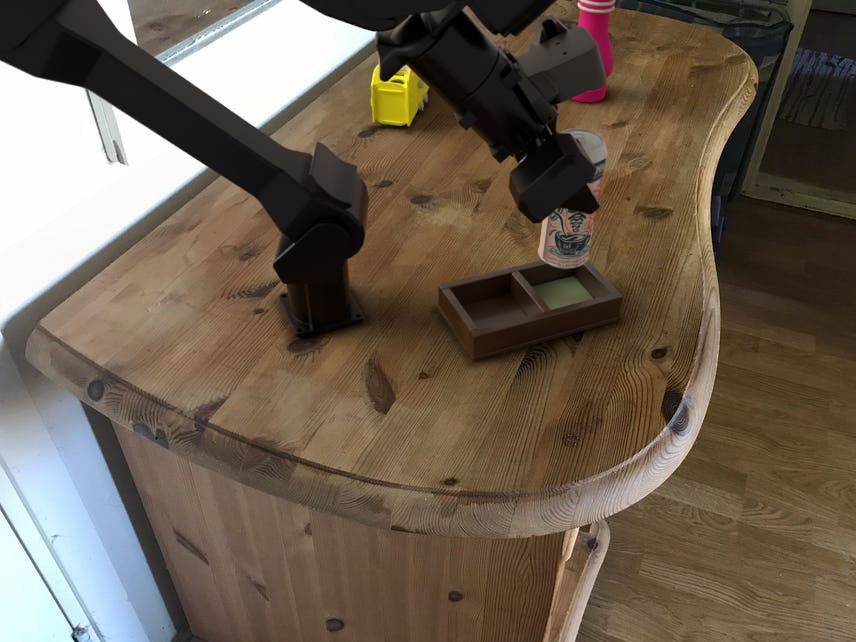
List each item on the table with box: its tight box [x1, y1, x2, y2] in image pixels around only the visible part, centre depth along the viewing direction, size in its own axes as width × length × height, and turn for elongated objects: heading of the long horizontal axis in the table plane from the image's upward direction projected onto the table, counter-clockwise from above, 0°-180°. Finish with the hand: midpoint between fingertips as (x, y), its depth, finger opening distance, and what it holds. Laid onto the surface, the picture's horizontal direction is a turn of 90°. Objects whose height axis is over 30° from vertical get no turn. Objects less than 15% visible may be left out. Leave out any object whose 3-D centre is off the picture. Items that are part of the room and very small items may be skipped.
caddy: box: [437, 259, 624, 363], centre depth 73 cm, size 8×15×3 cm, turn 115°
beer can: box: [537, 127, 609, 269], centre depth 69 cm, size 5×5×12 cm
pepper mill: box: [570, 0, 616, 103], centre depth 107 cm, size 7×7×20 cm
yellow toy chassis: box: [370, 62, 430, 127], centre depth 105 cm, size 16×6×8 cm, turn 171°
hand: (586, 195), depth 68 cm, fingers closed on beer can, 5 cm apart
